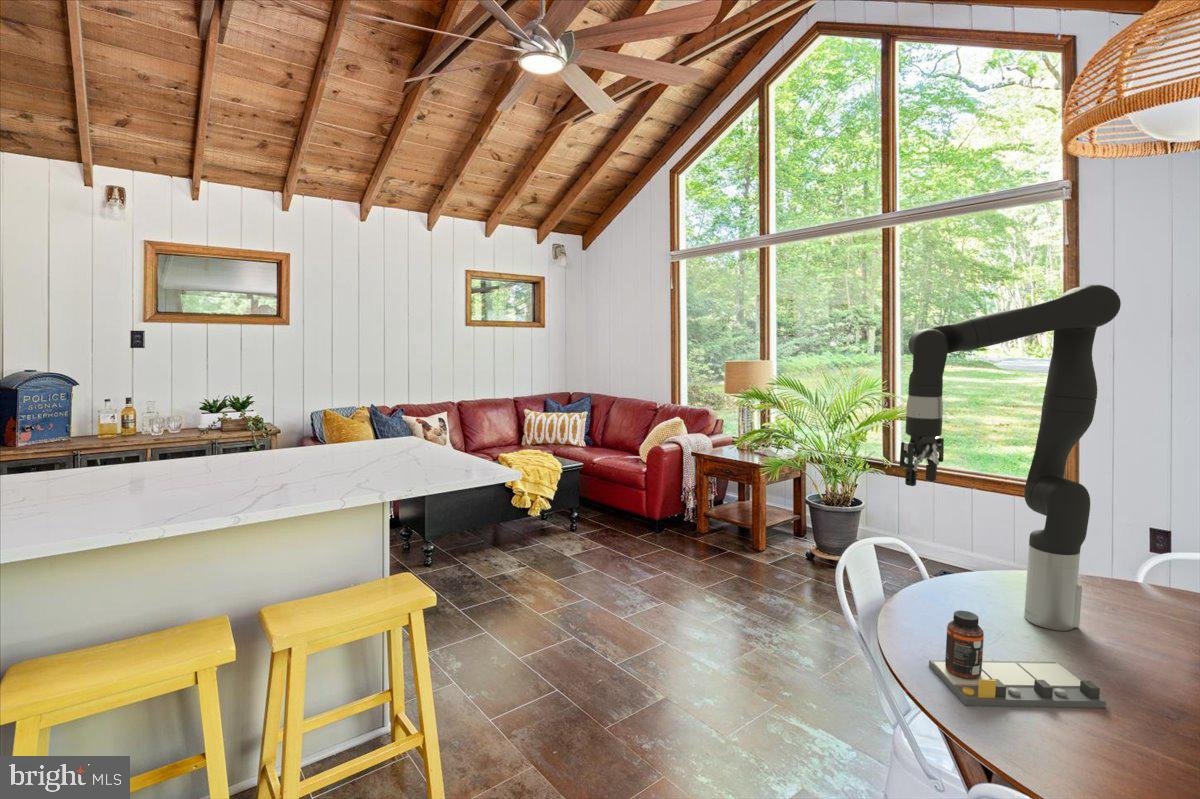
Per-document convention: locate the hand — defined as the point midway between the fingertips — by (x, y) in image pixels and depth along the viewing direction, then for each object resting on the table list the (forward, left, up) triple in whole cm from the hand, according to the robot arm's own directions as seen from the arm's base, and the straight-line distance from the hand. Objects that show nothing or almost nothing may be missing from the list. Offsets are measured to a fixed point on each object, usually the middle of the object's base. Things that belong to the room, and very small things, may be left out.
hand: (920, 483), depth 144 cm
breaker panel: (-2, +34, -30) cm, 45 cm away
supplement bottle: (+6, +32, -29) cm, 44 cm away
